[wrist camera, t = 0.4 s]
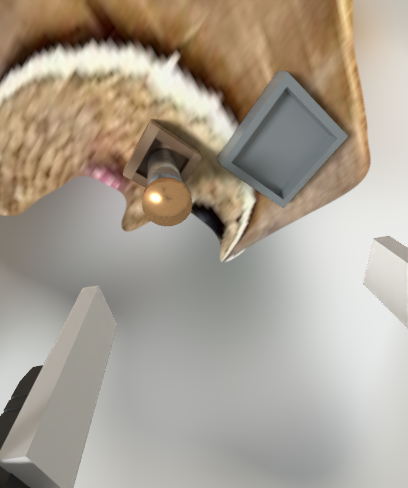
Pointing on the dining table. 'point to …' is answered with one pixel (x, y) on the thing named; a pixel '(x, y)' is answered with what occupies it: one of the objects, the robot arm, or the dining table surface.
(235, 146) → the tray
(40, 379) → the robot arm
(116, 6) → the dining table surface
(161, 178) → the pin
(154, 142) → the socket block
